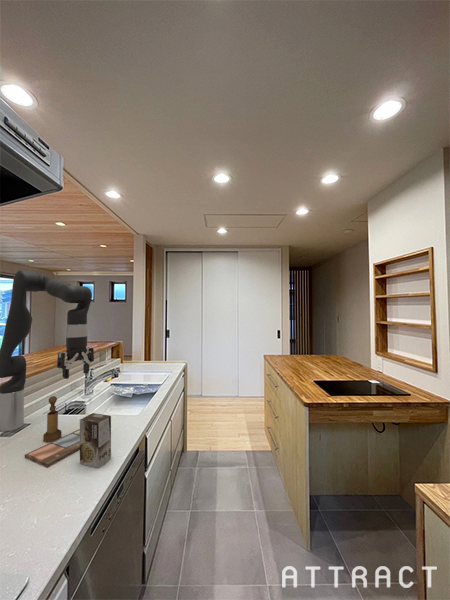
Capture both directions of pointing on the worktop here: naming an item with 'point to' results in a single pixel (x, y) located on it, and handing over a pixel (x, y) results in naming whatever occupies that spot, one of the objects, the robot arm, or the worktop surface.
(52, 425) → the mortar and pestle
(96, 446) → the coffee box
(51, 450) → the tile board
